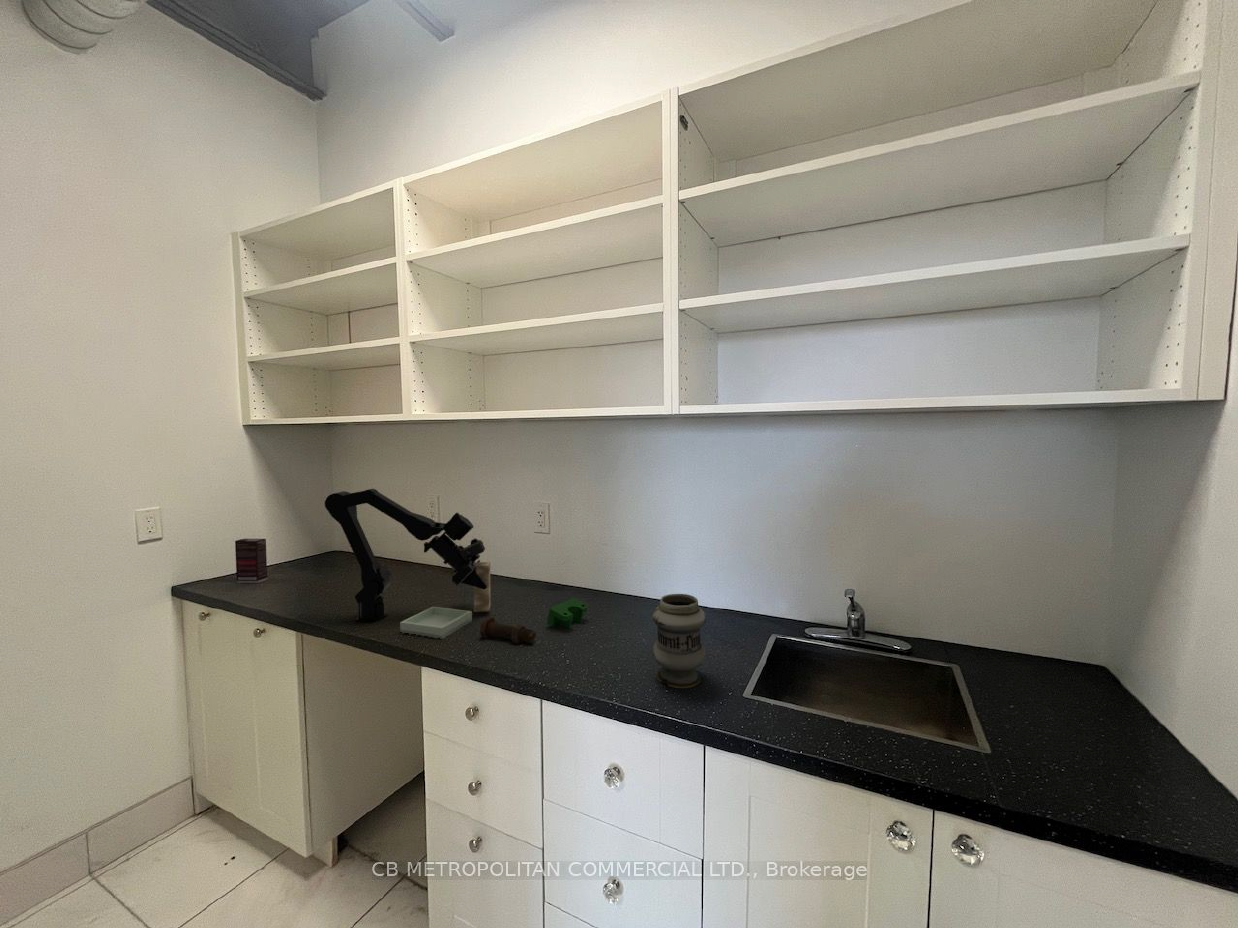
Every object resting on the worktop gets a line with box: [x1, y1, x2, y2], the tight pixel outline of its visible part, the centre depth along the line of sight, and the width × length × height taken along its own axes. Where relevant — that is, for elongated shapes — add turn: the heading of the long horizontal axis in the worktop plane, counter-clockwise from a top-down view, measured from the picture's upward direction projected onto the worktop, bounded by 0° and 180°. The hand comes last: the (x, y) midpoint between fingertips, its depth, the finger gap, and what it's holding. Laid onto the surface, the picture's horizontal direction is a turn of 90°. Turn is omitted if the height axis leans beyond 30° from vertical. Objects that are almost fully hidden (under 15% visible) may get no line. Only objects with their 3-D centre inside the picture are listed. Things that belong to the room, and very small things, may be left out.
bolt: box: [479, 616, 537, 644], centre depth 131 cm, size 6×5×15 cm
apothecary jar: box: [651, 593, 707, 689], centre depth 110 cm, size 12×12×18 cm
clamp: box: [546, 597, 589, 630], centre depth 142 cm, size 12×6×9 cm, turn 141°
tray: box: [399, 606, 473, 640], centre depth 139 cm, size 14×14×3 cm
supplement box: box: [234, 538, 268, 584], centre depth 183 cm, size 9×5×16 cm, turn 88°
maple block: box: [473, 561, 491, 613], centre depth 150 cm, size 4×4×14 cm
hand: (486, 585), depth 150 cm, fingers closed on maple block, 4 cm apart
